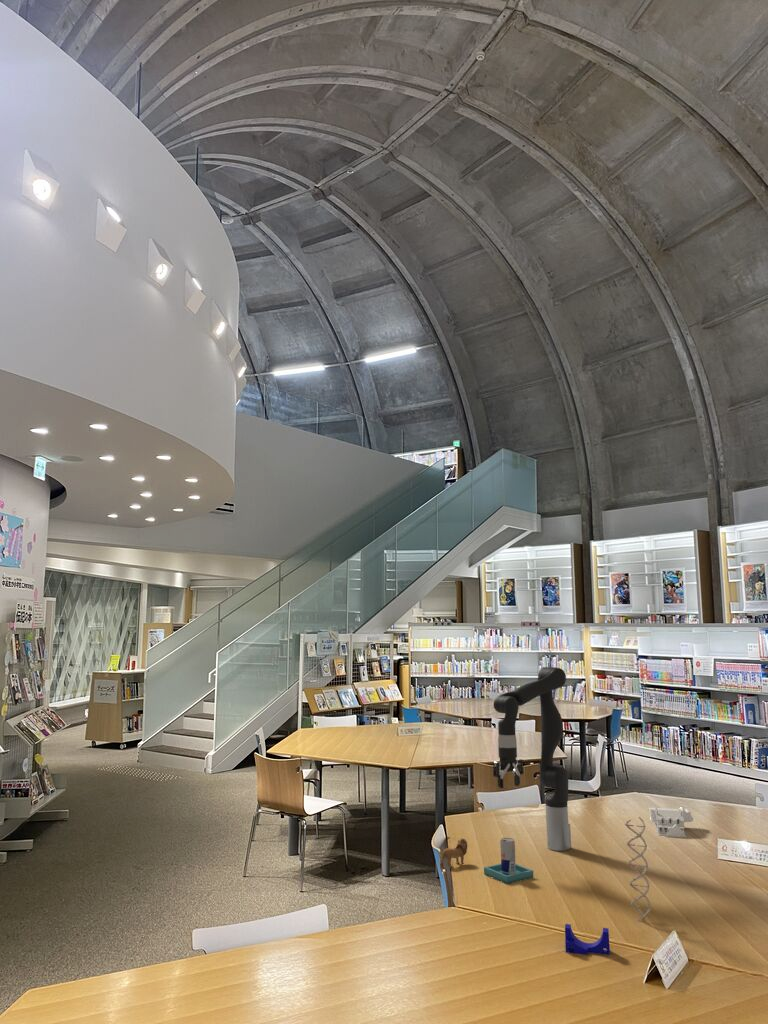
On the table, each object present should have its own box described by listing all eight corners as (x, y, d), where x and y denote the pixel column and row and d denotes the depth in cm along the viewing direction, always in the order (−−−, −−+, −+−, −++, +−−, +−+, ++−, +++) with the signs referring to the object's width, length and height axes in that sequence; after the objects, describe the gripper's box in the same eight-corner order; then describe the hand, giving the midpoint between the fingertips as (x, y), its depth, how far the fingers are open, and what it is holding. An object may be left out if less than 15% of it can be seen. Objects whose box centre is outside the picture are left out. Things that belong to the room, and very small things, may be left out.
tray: (510, 868, 274) (509, 861, 274) (533, 877, 263) (533, 870, 264) (484, 874, 267) (483, 867, 268) (506, 884, 256) (506, 876, 257)
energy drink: (500, 871, 268) (498, 837, 270) (513, 871, 268) (512, 837, 271) (503, 876, 263) (502, 841, 265) (517, 875, 263) (516, 841, 265)
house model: (654, 836, 318) (652, 813, 320) (650, 825, 337) (648, 803, 339) (699, 838, 313) (697, 815, 315) (692, 827, 332) (690, 805, 334)
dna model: (636, 912, 229) (630, 814, 234) (655, 918, 224) (648, 817, 230) (626, 918, 224) (620, 818, 229) (646, 923, 220) (639, 821, 225)
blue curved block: (565, 952, 200) (564, 929, 201) (566, 946, 204) (565, 923, 205) (610, 957, 197) (608, 934, 198) (609, 951, 201) (608, 928, 202)
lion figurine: (461, 860, 285) (460, 836, 287) (471, 863, 281) (470, 838, 283) (436, 868, 275) (435, 843, 277) (446, 871, 272) (445, 846, 273)
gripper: (514, 743, 299) (515, 783, 296) (488, 746, 292) (489, 787, 289) (526, 745, 293) (528, 786, 290) (500, 748, 285) (501, 790, 282)
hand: (509, 786), depth 289 cm, fingers open, 8 cm apart
